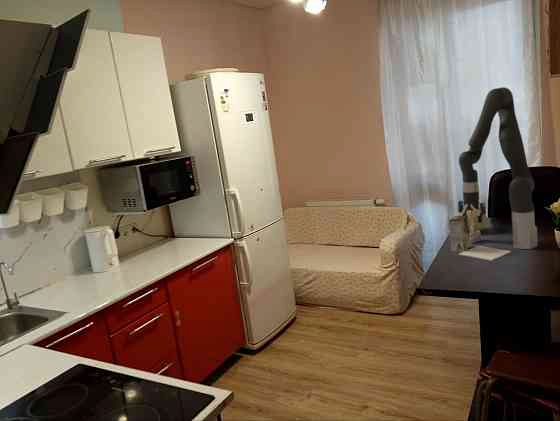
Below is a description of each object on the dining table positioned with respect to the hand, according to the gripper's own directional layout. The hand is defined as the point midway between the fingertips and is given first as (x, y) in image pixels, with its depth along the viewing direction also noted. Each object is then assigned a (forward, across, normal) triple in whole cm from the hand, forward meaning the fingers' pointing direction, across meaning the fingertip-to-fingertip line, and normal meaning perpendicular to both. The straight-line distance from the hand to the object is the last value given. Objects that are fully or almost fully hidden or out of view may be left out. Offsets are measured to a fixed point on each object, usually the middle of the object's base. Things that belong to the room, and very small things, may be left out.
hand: (472, 221), depth 232 cm
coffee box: (+11, -3, +14) cm, 18 cm away
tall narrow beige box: (+11, 0, 0) cm, 11 cm away
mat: (+10, -16, +14) cm, 23 cm away
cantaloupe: (+11, +12, -16) cm, 23 cm away
